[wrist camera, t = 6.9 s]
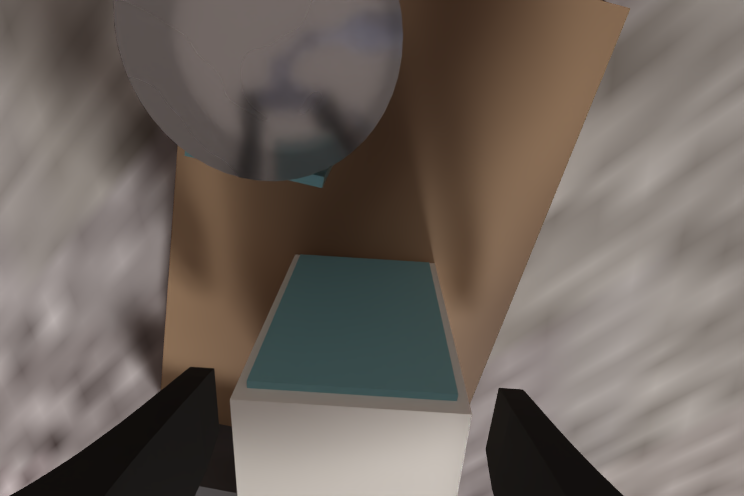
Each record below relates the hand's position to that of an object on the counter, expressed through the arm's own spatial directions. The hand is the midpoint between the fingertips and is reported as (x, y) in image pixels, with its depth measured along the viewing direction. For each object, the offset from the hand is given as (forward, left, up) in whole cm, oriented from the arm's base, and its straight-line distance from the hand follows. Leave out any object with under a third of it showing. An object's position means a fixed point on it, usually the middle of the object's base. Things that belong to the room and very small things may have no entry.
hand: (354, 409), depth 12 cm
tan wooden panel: (+1, -2, -4) cm, 5 cm away
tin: (+3, -8, -3) cm, 9 cm away
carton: (0, 0, -3) cm, 3 cm away
